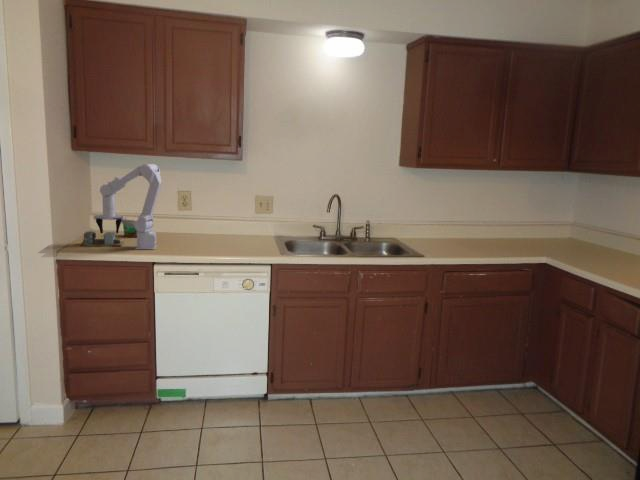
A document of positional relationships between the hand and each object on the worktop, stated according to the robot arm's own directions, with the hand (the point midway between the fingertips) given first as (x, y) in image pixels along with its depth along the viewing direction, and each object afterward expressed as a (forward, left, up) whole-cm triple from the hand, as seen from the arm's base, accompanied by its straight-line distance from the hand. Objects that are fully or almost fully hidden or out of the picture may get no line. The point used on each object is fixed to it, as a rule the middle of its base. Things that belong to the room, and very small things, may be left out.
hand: (109, 233), depth 258 cm
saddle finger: (0, 0, -5) cm, 5 cm away
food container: (-6, -22, -7) cm, 24 cm away
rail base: (+4, 0, -6) cm, 7 cm away
